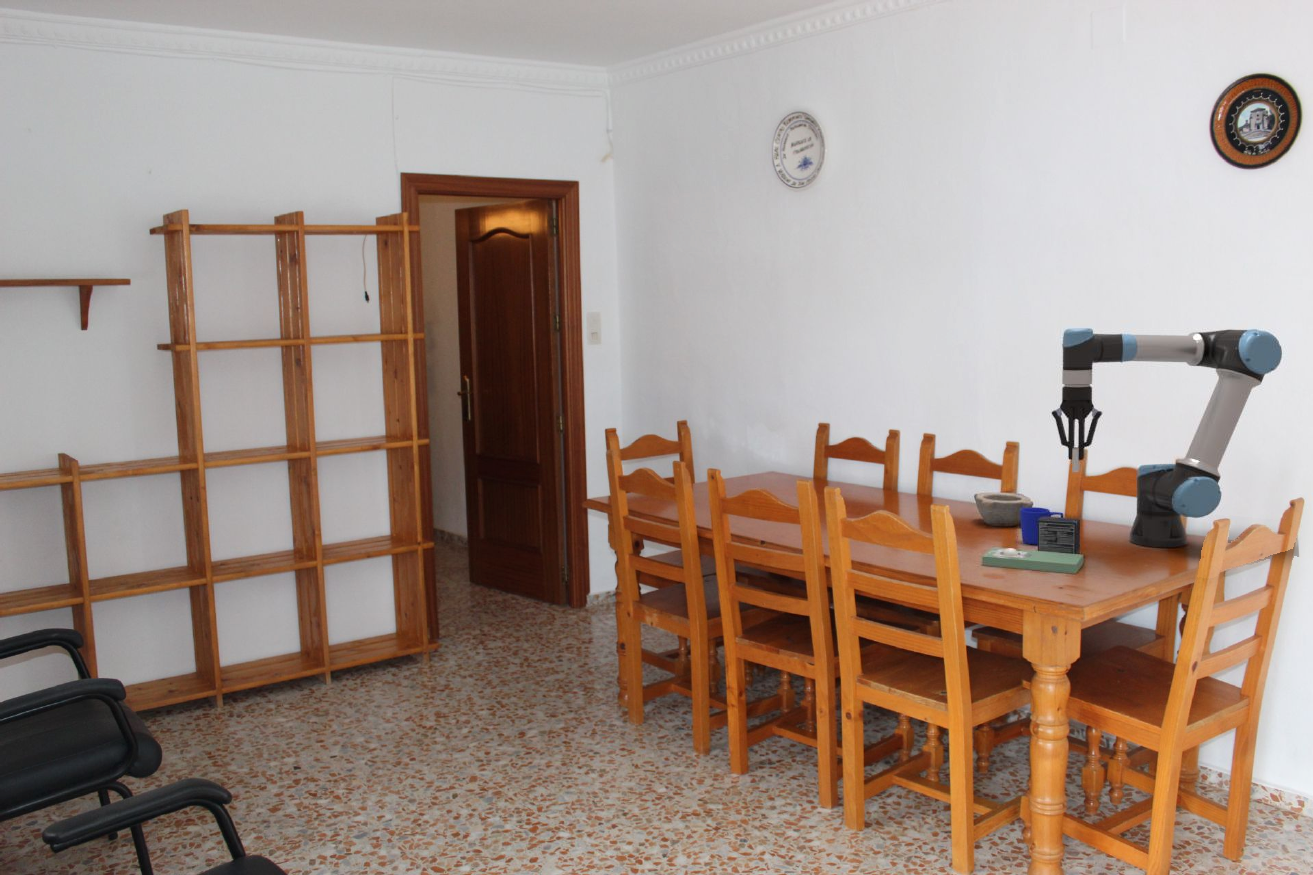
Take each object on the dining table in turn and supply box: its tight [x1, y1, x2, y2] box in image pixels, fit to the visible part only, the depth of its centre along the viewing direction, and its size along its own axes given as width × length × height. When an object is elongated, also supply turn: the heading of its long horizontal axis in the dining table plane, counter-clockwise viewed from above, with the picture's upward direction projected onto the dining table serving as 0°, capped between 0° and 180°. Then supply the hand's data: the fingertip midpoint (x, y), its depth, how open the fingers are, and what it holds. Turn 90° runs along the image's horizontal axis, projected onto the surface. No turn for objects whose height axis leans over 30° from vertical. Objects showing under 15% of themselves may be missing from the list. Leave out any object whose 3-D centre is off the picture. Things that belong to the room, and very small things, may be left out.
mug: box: [1020, 506, 1064, 546], centre depth 310 cm, size 8×12×10 cm
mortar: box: [973, 492, 1034, 528], centre depth 339 cm, size 17×17×9 cm
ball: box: [1003, 547, 1018, 556], centre depth 289 cm, size 4×4×4 cm
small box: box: [1037, 516, 1081, 555], centre depth 295 cm, size 11×6×10 cm, turn 59°
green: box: [981, 546, 1084, 575], centre depth 286 cm, size 24×12×2 cm, turn 59°
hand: (1075, 471), depth 288 cm, fingers closed
